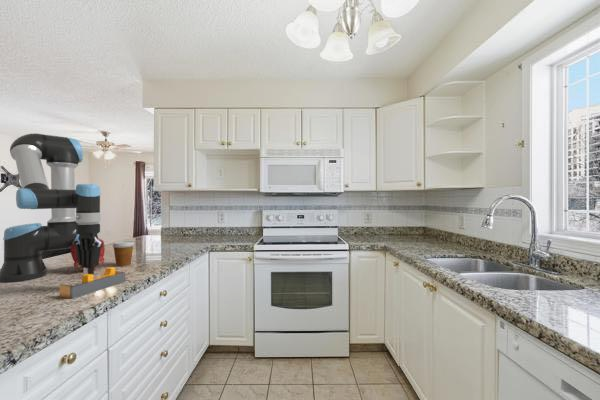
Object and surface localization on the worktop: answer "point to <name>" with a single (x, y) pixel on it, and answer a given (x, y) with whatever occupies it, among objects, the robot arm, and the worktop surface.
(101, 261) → the plant pot
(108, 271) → the pipe clamp
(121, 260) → the disposable coffee cup
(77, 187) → the robot arm
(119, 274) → the keeper bracket
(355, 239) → the worktop surface
